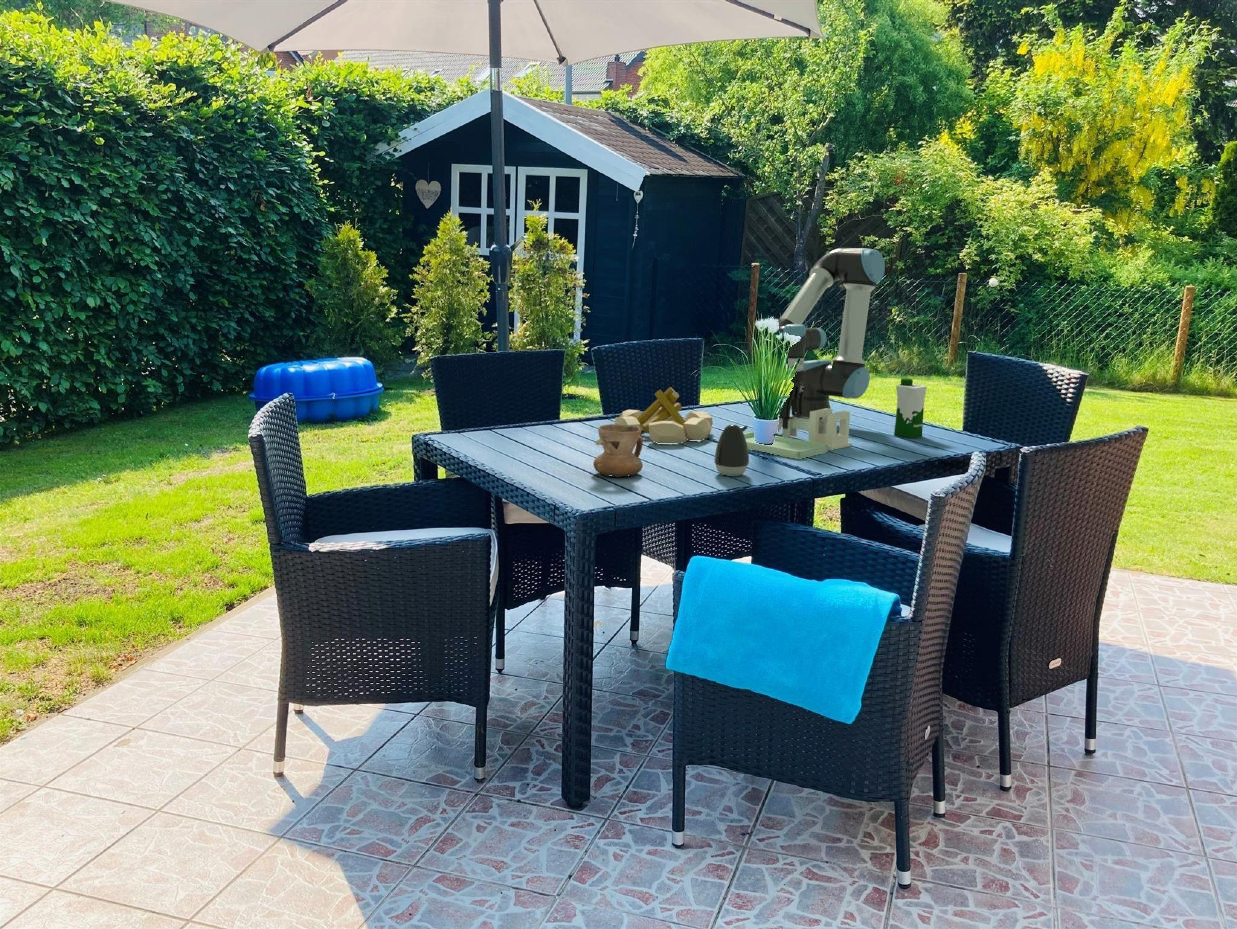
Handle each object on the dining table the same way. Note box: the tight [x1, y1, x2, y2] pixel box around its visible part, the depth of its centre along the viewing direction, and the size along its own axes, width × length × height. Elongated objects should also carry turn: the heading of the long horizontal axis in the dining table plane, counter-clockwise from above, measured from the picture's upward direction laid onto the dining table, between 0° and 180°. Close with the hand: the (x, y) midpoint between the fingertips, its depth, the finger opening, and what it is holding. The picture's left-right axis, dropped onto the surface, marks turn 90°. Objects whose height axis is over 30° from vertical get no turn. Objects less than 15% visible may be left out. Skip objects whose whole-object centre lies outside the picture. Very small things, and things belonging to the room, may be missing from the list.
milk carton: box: [893, 377, 928, 439], centre depth 379 cm, size 9×9×20 cm
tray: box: [743, 431, 829, 460], centre depth 357 cm, size 16×31×2 cm, turn 45°
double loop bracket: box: [808, 408, 853, 451], centre depth 363 cm, size 11×12×12 cm
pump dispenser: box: [713, 423, 750, 477], centre depth 319 cm, size 10×10×15 cm
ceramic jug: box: [593, 423, 644, 477], centre depth 318 cm, size 18×14×14 cm
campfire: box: [613, 386, 714, 444], centre depth 375 cm, size 35×34×17 cm
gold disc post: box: [778, 413, 827, 434], centre depth 372 cm, size 28×12×12 cm, turn 46°
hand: (789, 436), depth 375 cm, fingers closed on gold disc post, 3 cm apart
